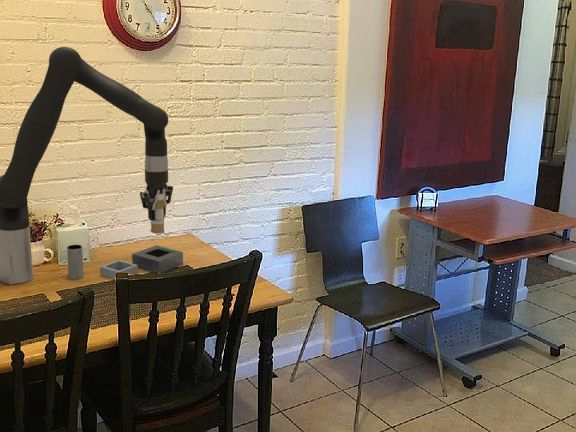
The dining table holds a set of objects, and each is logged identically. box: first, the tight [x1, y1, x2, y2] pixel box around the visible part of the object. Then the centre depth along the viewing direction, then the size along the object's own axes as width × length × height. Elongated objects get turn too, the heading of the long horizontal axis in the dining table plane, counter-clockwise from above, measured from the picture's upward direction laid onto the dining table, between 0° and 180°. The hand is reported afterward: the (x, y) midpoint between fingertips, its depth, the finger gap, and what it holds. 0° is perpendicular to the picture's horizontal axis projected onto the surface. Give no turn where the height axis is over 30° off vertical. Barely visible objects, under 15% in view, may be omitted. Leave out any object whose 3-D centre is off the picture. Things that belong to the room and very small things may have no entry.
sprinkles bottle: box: [150, 193, 165, 235], centre depth 214 cm, size 5×5×14 cm
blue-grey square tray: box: [99, 259, 139, 281], centre depth 209 cm, size 8×8×3 cm
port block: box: [131, 244, 184, 274], centre depth 219 cm, size 12×12×5 cm
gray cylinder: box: [66, 244, 84, 281], centre depth 205 cm, size 4×4×10 cm
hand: (157, 218), depth 215 cm, fingers closed on sprinkles bottle, 4 cm apart
